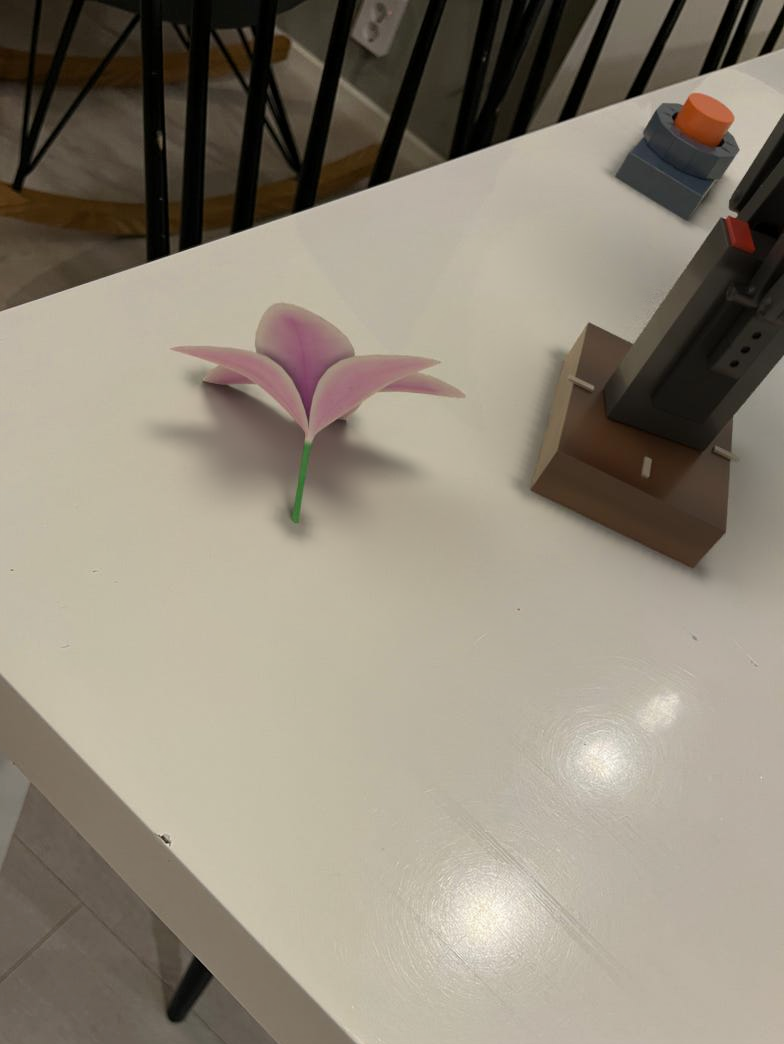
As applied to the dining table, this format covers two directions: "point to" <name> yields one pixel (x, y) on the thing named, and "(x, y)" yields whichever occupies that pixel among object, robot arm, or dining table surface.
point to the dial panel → (629, 462)
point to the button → (704, 119)
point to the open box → (692, 338)
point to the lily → (315, 372)
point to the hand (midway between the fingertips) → (674, 389)
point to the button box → (675, 163)
